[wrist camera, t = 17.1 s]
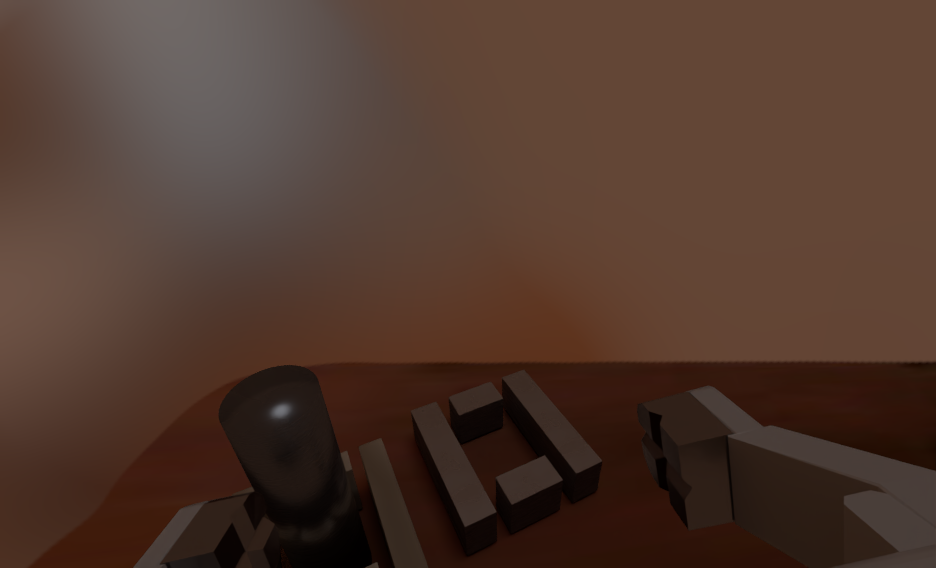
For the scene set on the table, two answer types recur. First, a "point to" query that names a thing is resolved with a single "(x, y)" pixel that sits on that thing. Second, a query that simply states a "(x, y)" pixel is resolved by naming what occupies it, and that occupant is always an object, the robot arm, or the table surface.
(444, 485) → the socket
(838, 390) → the table surface
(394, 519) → the rack
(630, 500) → the table surface
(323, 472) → the dark rounded handle
